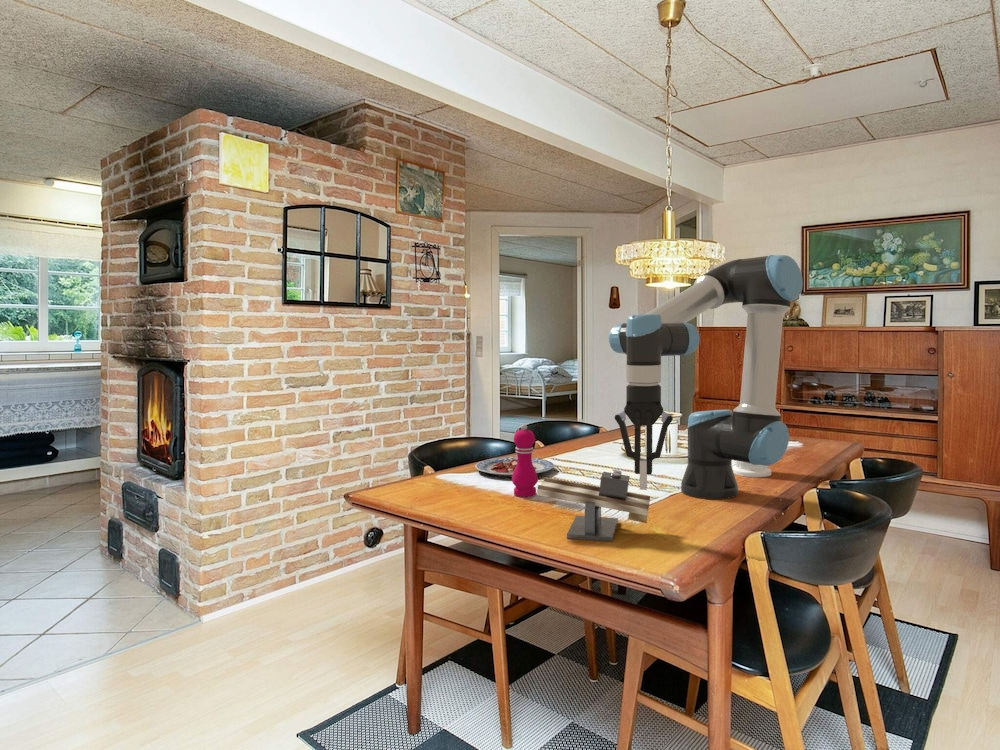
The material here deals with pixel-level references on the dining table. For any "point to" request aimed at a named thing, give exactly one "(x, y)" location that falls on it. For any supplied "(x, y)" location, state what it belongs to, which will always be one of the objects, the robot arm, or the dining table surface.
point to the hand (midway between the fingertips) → (643, 488)
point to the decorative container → (750, 469)
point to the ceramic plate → (510, 466)
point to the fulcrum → (593, 525)
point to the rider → (614, 485)
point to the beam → (595, 497)
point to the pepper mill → (524, 464)
